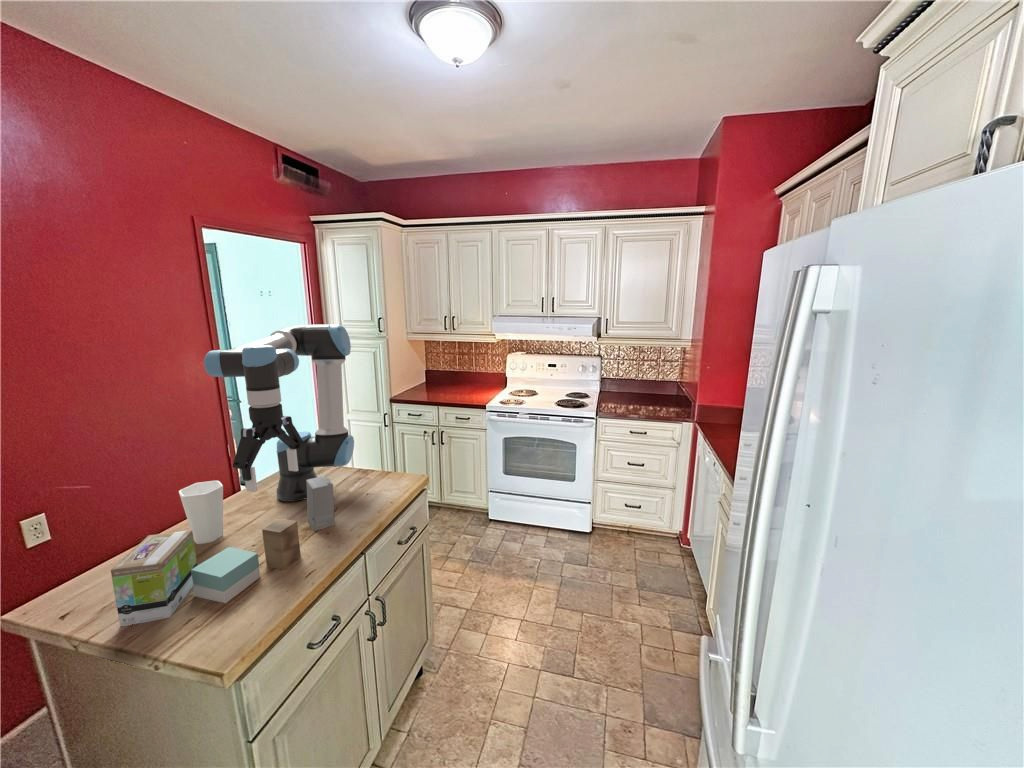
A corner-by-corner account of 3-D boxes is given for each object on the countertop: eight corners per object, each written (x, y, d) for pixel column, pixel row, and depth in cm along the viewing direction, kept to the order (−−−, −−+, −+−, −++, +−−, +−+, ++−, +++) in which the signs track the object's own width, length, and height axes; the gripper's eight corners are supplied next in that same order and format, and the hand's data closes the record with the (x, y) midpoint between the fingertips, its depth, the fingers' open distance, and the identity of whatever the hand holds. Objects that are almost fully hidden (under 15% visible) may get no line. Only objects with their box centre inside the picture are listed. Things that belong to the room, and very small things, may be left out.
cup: (212, 527, 132) (204, 479, 129) (237, 530, 130) (230, 481, 127) (178, 546, 121) (169, 494, 118) (205, 550, 119) (197, 498, 116)
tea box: (172, 619, 93) (161, 562, 90) (119, 628, 90) (106, 570, 88) (201, 577, 107) (192, 528, 104) (156, 585, 104) (146, 534, 102)
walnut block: (284, 555, 117) (279, 518, 115) (301, 558, 115) (296, 521, 113) (266, 568, 111) (261, 529, 109) (284, 571, 110) (279, 532, 107)
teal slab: (230, 559, 109) (228, 546, 108) (259, 566, 106) (257, 553, 106) (193, 583, 100) (190, 569, 99) (223, 591, 97) (221, 577, 96)
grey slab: (231, 573, 110) (229, 560, 109) (260, 580, 107) (258, 566, 106) (194, 599, 100) (192, 585, 99) (225, 606, 98) (223, 592, 97)
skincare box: (307, 523, 134) (302, 479, 131) (329, 516, 139) (325, 474, 136) (314, 534, 128) (309, 488, 125) (337, 526, 132) (333, 482, 129)
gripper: (290, 394, 117) (297, 462, 121) (207, 415, 94) (219, 499, 97) (312, 395, 115) (318, 464, 119) (232, 417, 92) (243, 503, 96)
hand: (274, 480), depth 108 cm, fingers open, 13 cm apart
